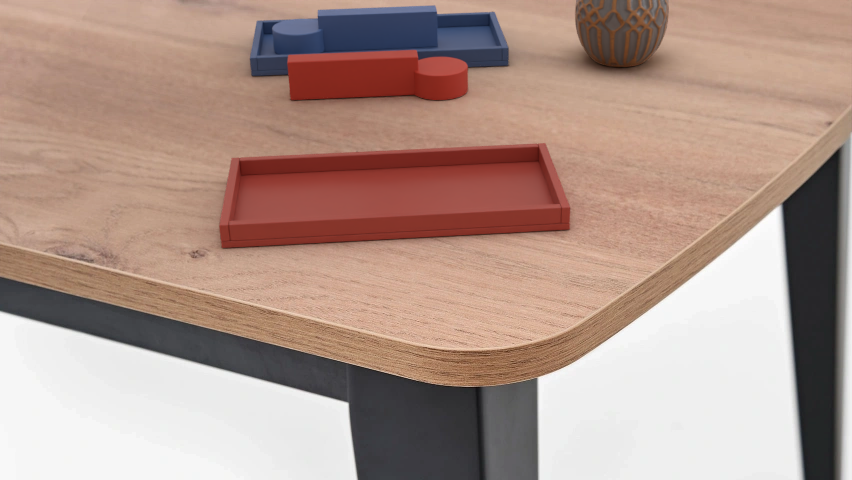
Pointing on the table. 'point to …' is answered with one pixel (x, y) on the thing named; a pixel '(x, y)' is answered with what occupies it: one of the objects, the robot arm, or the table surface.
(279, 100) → the table surface
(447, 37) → the blue tray
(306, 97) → the red disc-ended bar
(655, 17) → the vase
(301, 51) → the blue disc-ended bar
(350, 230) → the red tray
